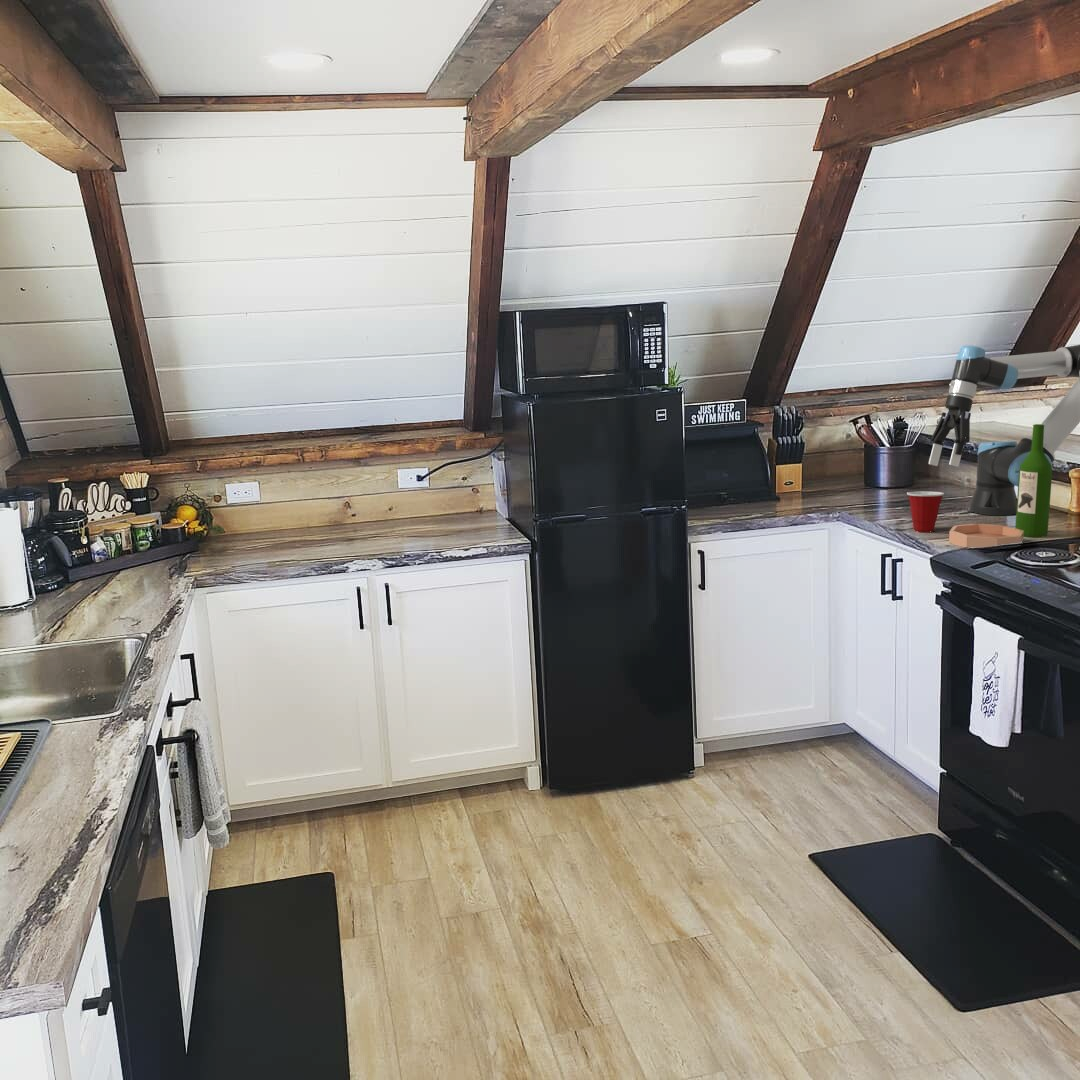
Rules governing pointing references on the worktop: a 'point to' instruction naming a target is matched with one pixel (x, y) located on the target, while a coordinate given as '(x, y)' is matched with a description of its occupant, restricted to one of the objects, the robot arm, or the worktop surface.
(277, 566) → the worktop surface
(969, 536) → the terracotta bowl
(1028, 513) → the wine bottle
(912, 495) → the plastic cup
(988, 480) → the robot arm
